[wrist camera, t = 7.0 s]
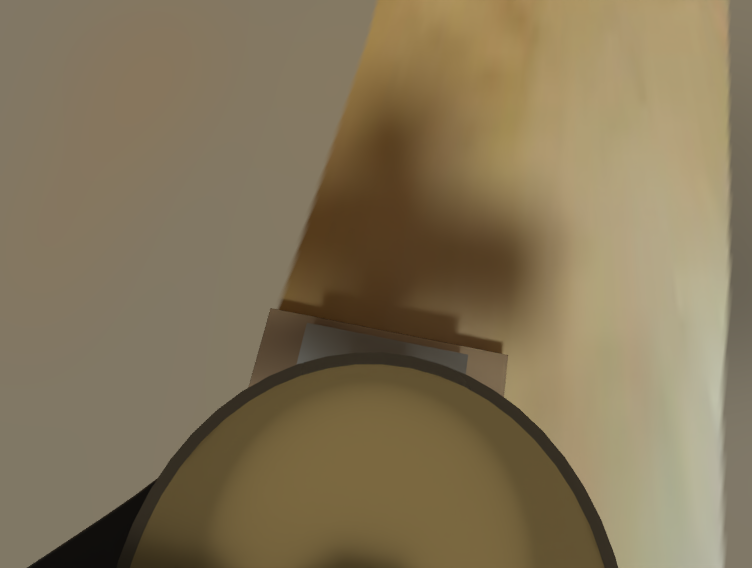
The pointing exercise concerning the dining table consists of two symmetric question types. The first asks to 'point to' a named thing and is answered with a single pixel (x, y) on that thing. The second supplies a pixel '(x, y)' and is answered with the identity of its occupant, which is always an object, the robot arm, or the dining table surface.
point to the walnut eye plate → (294, 331)
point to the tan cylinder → (368, 478)
